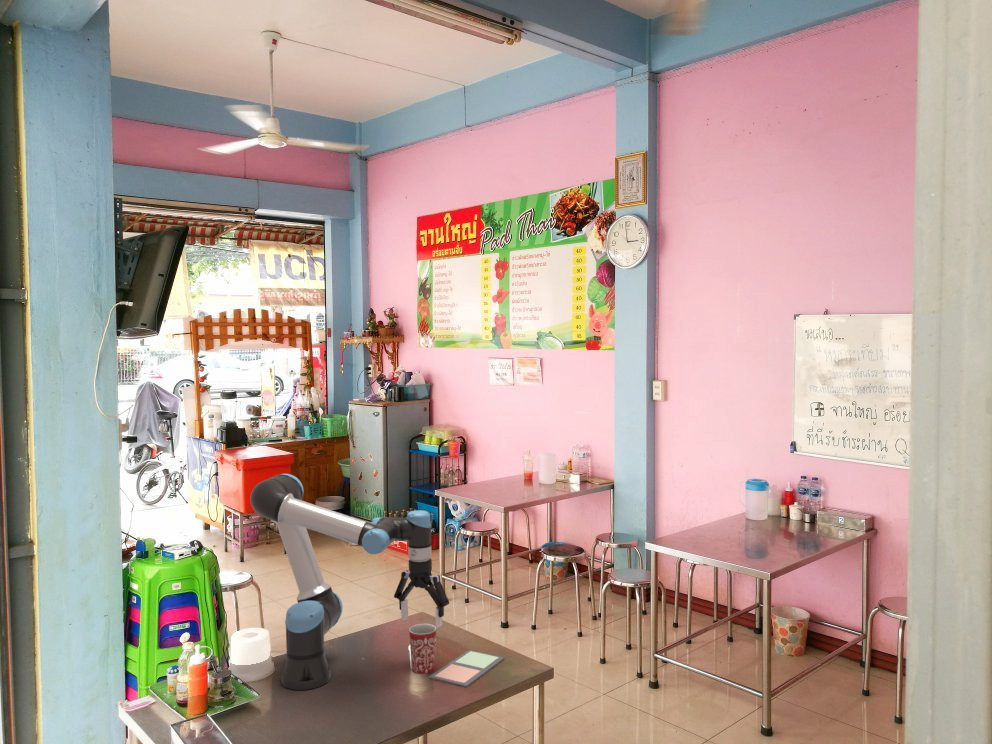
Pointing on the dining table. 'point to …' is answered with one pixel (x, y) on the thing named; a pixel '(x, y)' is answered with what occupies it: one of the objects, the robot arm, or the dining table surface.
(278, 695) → the dining table surface
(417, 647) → the mug
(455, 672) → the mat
